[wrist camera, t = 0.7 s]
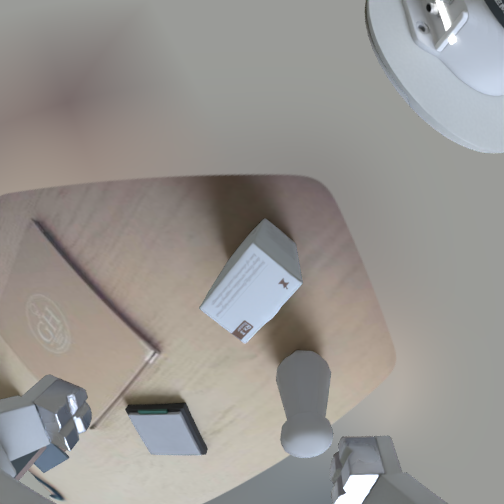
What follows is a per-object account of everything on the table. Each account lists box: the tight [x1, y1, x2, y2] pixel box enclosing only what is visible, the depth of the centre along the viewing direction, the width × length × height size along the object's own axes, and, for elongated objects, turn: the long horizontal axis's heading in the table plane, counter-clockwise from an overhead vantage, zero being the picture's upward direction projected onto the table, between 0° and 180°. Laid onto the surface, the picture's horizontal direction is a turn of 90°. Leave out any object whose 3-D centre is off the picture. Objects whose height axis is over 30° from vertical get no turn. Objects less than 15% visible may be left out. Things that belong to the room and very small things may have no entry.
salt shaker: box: [276, 350, 333, 458], centre depth 28 cm, size 6×6×13 cm
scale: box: [125, 403, 207, 455], centre depth 37 cm, size 9×9×2 cm
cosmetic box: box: [199, 219, 303, 343], centre depth 26 cm, size 6×4×12 cm
